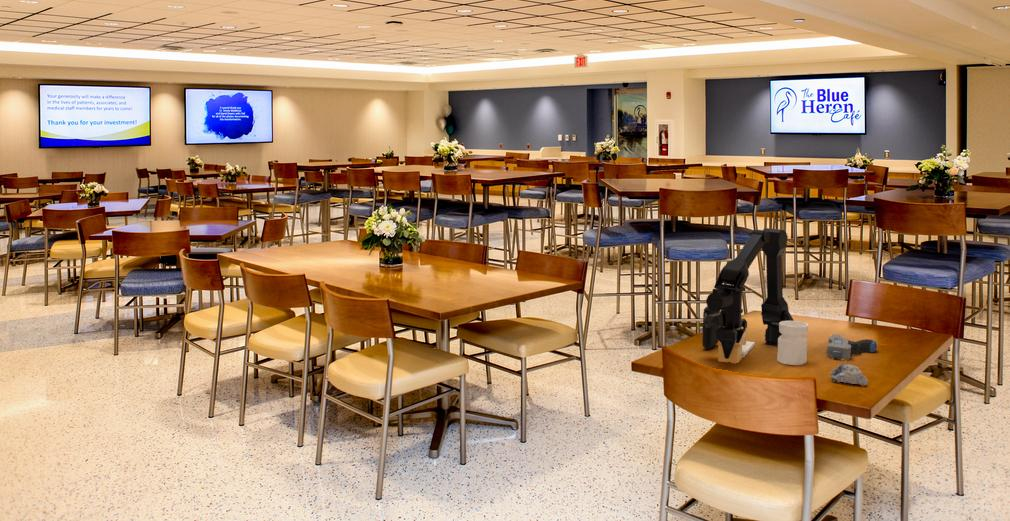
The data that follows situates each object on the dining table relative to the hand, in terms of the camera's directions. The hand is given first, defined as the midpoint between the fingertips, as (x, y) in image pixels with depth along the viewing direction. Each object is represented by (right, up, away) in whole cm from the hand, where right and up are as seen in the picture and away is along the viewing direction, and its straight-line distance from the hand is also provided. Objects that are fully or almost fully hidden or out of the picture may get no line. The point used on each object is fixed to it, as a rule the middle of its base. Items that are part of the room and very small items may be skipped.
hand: (730, 354), depth 269 cm
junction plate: (+6, 0, +12) cm, 14 cm away
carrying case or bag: (-3, 0, +15) cm, 15 cm away
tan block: (0, -2, 0) cm, 2 cm away
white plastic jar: (+19, -2, -1) cm, 19 cm away
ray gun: (+41, -1, +7) cm, 42 cm away
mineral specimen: (+28, -6, -23) cm, 36 cm away
